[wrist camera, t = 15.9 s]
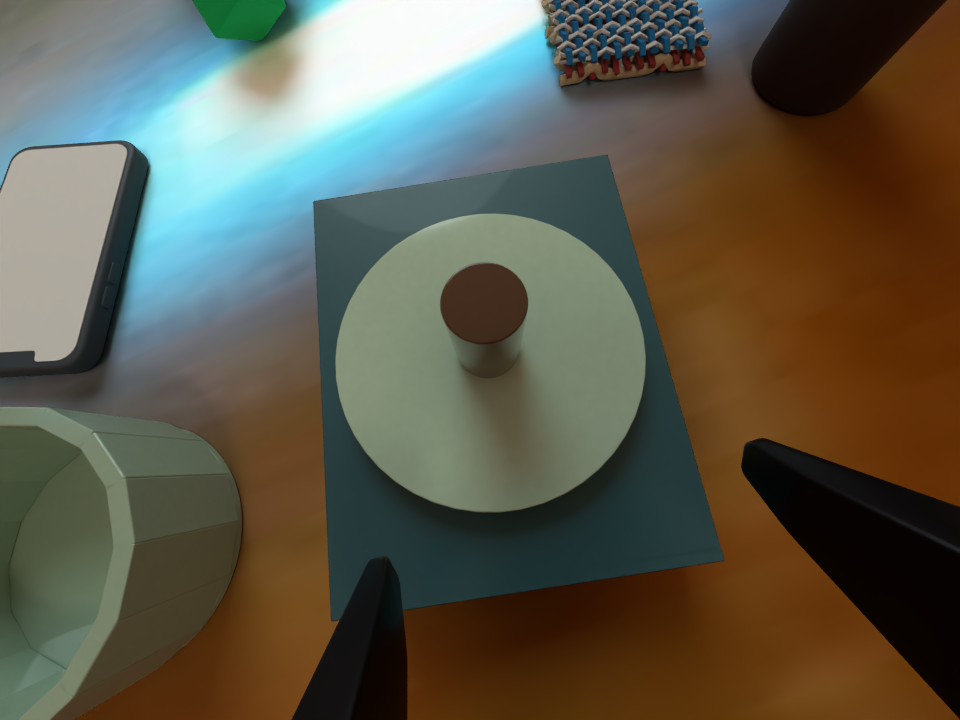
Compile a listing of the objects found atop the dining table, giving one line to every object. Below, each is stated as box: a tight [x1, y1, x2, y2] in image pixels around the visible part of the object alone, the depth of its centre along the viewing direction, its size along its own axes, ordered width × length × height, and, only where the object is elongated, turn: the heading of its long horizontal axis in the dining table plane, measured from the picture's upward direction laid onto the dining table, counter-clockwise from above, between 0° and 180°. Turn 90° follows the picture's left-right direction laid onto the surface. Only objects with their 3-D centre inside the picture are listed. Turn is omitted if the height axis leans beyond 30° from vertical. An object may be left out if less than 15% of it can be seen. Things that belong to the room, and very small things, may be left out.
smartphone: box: [0, 141, 148, 377], centre depth 25 cm, size 9×2×16 cm
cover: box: [335, 214, 646, 513], centre depth 15 cm, size 14×14×6 cm
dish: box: [0, 407, 242, 720], centre depth 17 cm, size 13×13×6 cm
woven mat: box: [542, 0, 711, 86], centre depth 27 cm, size 10×11×2 cm
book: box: [313, 155, 724, 621], centre depth 20 cm, size 20×16×4 cm
